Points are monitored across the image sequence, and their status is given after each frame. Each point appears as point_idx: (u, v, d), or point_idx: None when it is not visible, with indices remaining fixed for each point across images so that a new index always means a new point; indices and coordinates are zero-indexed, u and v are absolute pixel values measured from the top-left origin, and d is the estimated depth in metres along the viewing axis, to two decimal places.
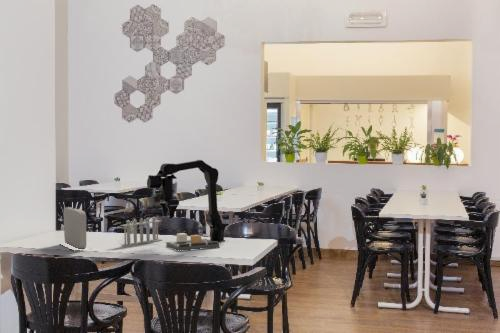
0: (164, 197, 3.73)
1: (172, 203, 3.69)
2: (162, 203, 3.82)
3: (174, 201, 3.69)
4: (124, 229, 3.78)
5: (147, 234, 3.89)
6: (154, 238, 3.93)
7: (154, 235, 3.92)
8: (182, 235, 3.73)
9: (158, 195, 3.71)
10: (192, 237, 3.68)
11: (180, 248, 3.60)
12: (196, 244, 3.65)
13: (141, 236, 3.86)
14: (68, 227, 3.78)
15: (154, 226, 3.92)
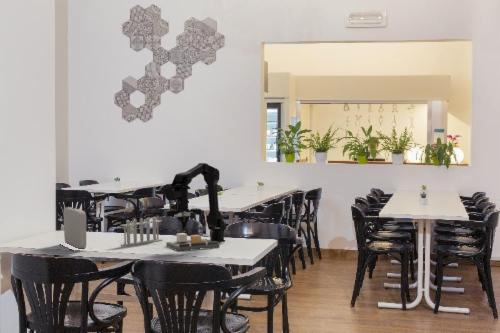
0: (175, 207, 3.66)
1: (164, 214, 3.62)
2: (183, 215, 3.67)
3: (165, 212, 3.61)
4: (124, 229, 3.78)
5: (147, 234, 3.89)
6: (154, 238, 3.93)
7: (154, 235, 3.93)
8: (182, 235, 3.73)
9: (170, 204, 3.69)
10: (192, 237, 3.68)
11: (180, 248, 3.60)
12: (196, 244, 3.65)
13: (141, 236, 3.86)
14: (68, 227, 3.78)
15: (154, 226, 3.92)
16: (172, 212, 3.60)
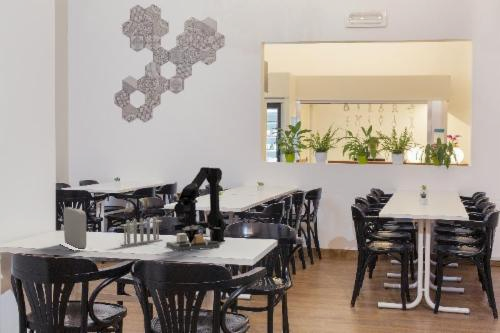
0: (183, 221, 3.69)
1: (172, 227, 3.64)
2: (191, 228, 3.69)
3: (173, 226, 3.63)
4: (124, 229, 3.78)
5: (147, 234, 3.89)
6: (155, 238, 3.93)
7: (155, 235, 3.93)
8: (182, 235, 3.73)
9: (177, 218, 3.71)
10: (194, 237, 3.68)
11: (180, 248, 3.60)
12: (196, 244, 3.65)
13: (141, 236, 3.86)
14: (68, 227, 3.78)
15: (155, 226, 3.92)
16: (180, 226, 3.62)
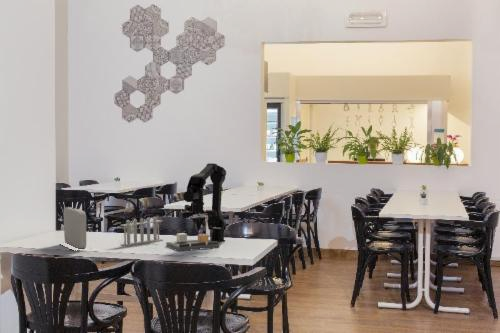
0: (190, 209, 3.70)
1: (180, 215, 3.65)
2: (198, 217, 3.70)
3: (181, 214, 3.64)
4: (124, 229, 3.79)
5: (148, 234, 3.89)
6: (155, 238, 3.93)
7: (155, 235, 3.93)
8: (182, 235, 3.73)
9: (185, 206, 3.73)
10: (199, 236, 3.70)
11: (180, 248, 3.60)
12: (196, 244, 3.65)
13: (141, 236, 3.86)
14: (68, 227, 3.78)
15: (155, 226, 3.92)
16: (187, 214, 3.63)
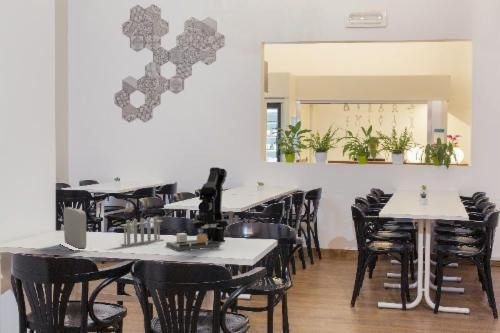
0: (201, 219, 3.73)
1: (191, 226, 3.68)
2: (209, 227, 3.73)
3: (192, 224, 3.67)
4: (124, 229, 3.79)
5: (148, 234, 3.90)
6: (155, 238, 3.93)
7: (155, 235, 3.93)
8: (182, 235, 3.73)
9: (196, 216, 3.76)
10: (198, 236, 3.69)
11: (180, 248, 3.60)
12: (196, 244, 3.65)
13: (142, 236, 3.86)
14: (68, 227, 3.78)
15: (155, 226, 3.92)
16: (199, 224, 3.67)
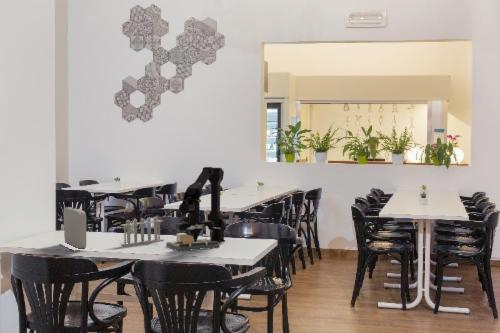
0: (187, 220, 3.69)
1: (177, 227, 3.65)
2: (195, 228, 3.70)
3: (177, 225, 3.64)
4: (124, 229, 3.79)
5: (148, 234, 3.90)
6: (156, 238, 3.93)
7: (156, 235, 3.93)
8: (182, 235, 3.73)
9: (181, 217, 3.72)
10: (184, 238, 3.66)
11: (180, 248, 3.60)
12: (196, 244, 3.65)
13: (142, 236, 3.87)
14: (68, 227, 3.78)
15: (156, 226, 3.93)
16: (184, 225, 3.63)
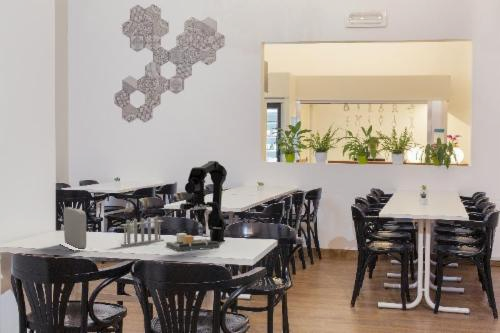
0: (191, 201, 3.70)
1: (181, 207, 3.66)
2: (199, 208, 3.71)
3: (182, 205, 3.65)
4: (124, 229, 3.79)
5: (148, 234, 3.90)
6: (156, 238, 3.93)
7: (156, 235, 3.93)
8: (182, 235, 3.73)
9: (186, 198, 3.73)
10: (185, 238, 3.66)
11: (180, 248, 3.60)
12: (196, 244, 3.65)
13: (142, 236, 3.87)
14: (68, 227, 3.78)
15: (156, 226, 3.93)
16: (189, 205, 3.64)
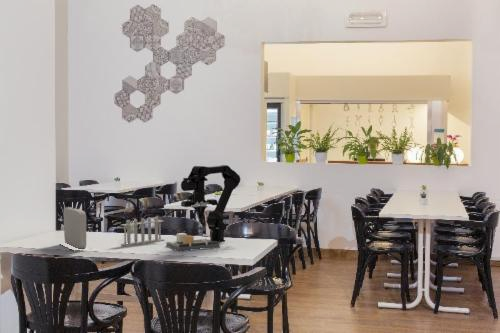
0: (192, 198, 3.82)
1: (182, 204, 3.78)
2: (200, 205, 3.83)
3: (183, 203, 3.77)
4: (124, 229, 3.80)
5: (149, 234, 3.90)
6: (156, 238, 3.93)
7: (156, 235, 3.93)
8: (182, 235, 3.73)
9: (187, 195, 3.85)
10: (185, 238, 3.66)
11: (180, 248, 3.60)
12: (196, 244, 3.65)
13: (142, 236, 3.87)
14: (68, 227, 3.78)
15: (156, 226, 3.93)
16: (189, 202, 3.76)
